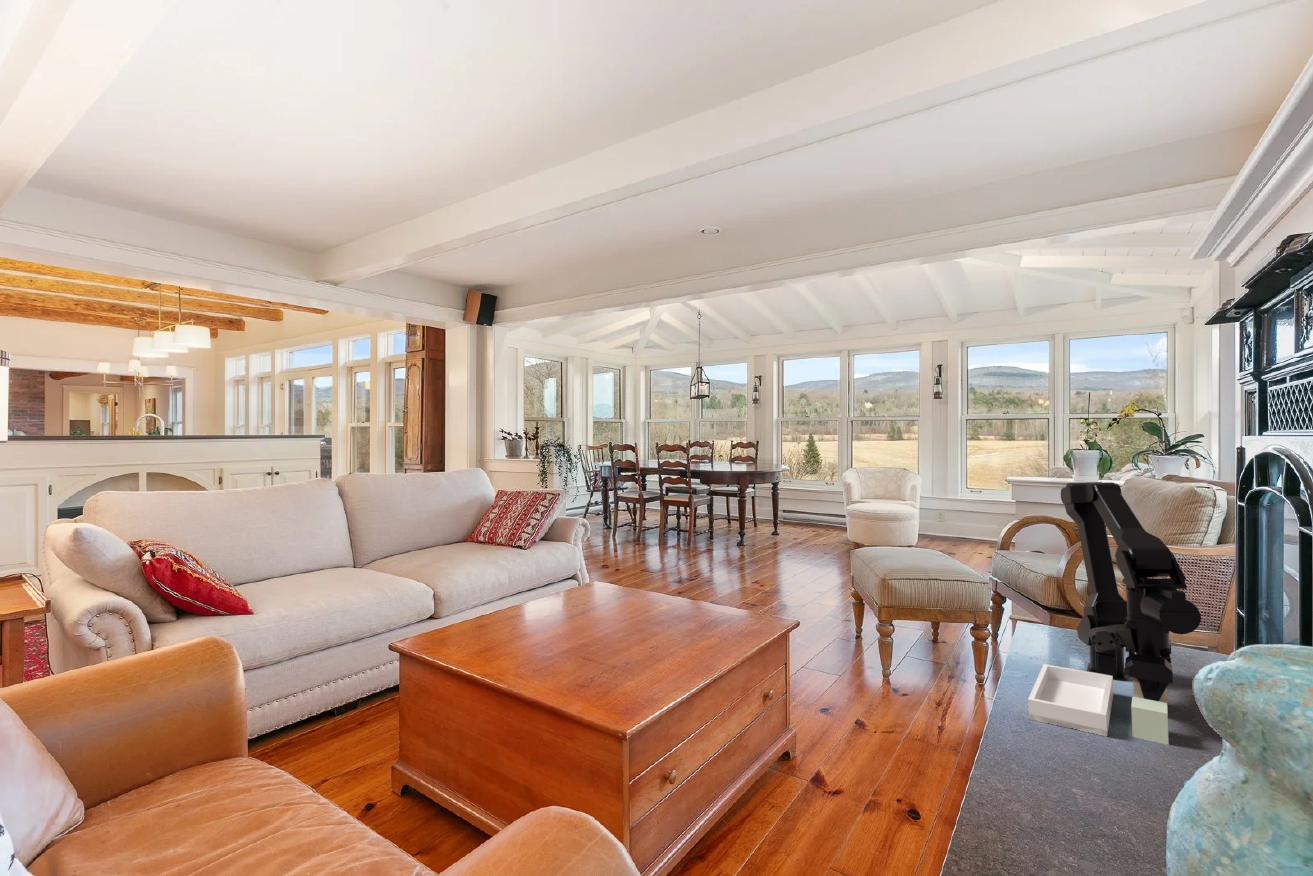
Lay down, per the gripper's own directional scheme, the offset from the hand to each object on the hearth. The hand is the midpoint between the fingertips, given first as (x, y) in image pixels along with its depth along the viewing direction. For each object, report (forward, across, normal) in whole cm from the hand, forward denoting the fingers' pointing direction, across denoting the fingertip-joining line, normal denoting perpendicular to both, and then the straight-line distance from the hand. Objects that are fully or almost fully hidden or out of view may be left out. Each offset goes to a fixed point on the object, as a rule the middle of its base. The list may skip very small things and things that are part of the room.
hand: (1150, 703), depth 109 cm
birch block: (+1, 0, 0) cm, 1 cm away
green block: (+1, +11, 0) cm, 11 cm away
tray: (+1, +6, -11) cm, 13 cm away
